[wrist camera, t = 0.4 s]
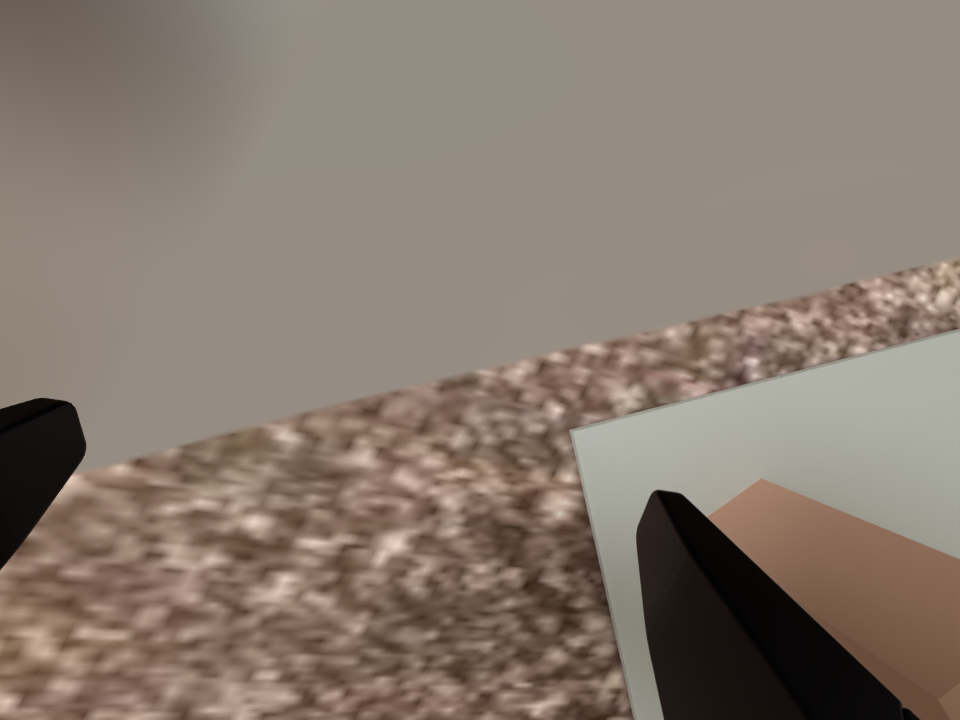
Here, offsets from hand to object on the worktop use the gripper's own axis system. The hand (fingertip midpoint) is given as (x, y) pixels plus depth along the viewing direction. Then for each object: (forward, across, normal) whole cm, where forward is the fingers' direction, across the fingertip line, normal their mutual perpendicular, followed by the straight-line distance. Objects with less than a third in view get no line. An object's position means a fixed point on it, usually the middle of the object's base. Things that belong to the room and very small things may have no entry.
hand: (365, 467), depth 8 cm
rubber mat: (+12, -19, +11) cm, 25 cm away
